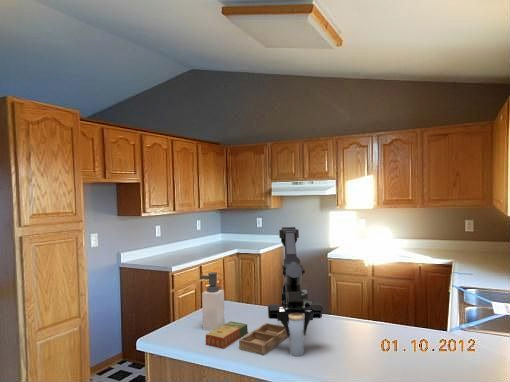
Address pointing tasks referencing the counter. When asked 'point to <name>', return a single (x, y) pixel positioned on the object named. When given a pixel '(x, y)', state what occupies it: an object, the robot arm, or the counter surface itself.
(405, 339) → the counter surface
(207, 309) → the soap dispenser
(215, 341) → the carton
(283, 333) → the caddy
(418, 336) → the counter surface
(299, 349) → the jar
